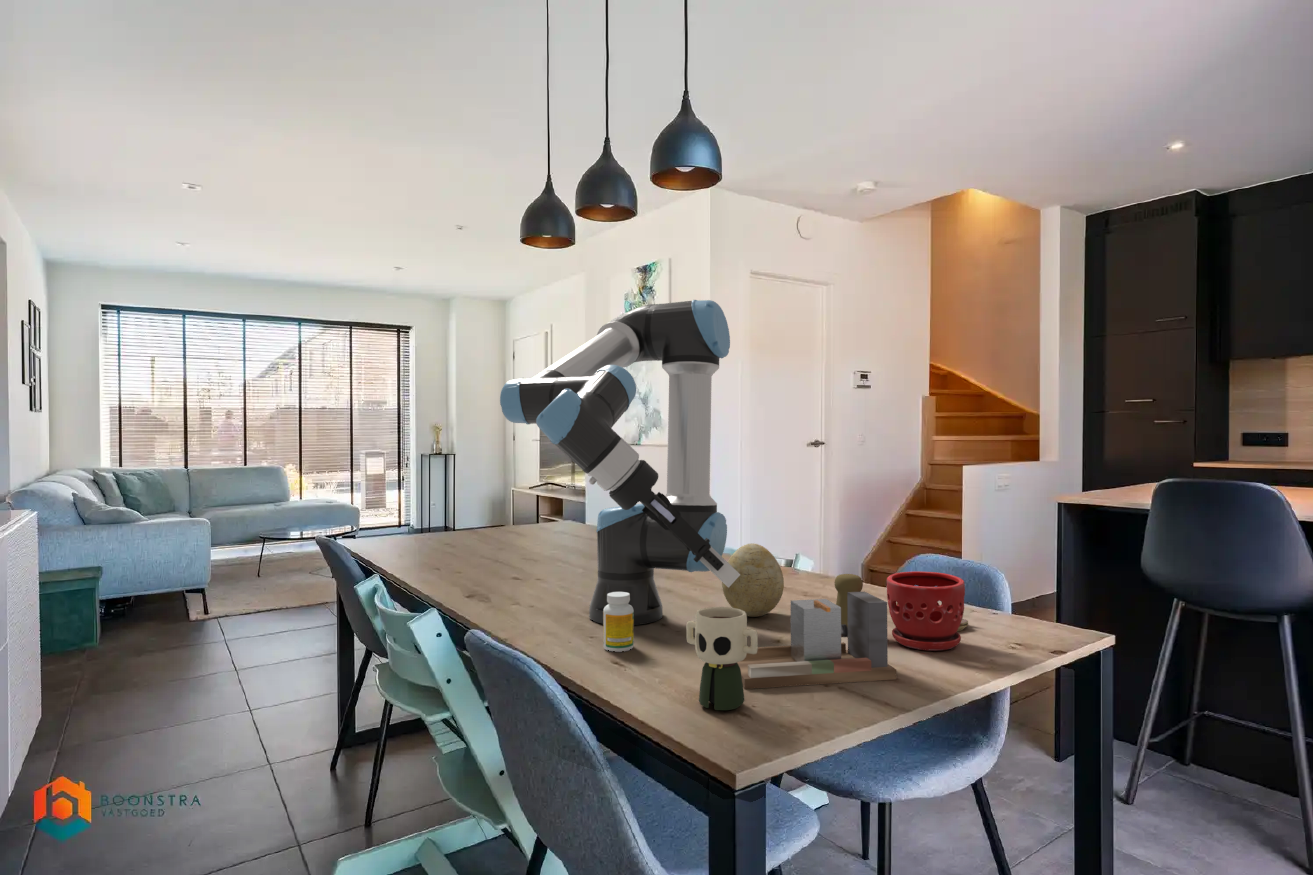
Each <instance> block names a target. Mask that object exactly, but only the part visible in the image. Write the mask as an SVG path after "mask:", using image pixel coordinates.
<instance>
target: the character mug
mask: <svg viewBox="0 0 1313 875" xmlns="http://www.w3.org/2000/svg"><path fill="white" fill-rule="evenodd" d="M747 622H748V616H747V615H746V612H745V611H743V610H740V609H736V608H732V607H724V606H712V607H706V608H700V609H698V610H697V611H695V621H694V620H689V621H687V622H686V627H685V628H686V642H687V643H688V644H690V645H694V648H695V649H694V650H695V653H696V656H697V658H698V659H699V660H700V661H702V662H703V663H704V664H703V666H702V671H701V676H700V685H699V695H698V696H699V697H698V701H699V702H698V703H699V704H700V705H701V706H702V707H704V708H705V709H709V706H710V705H709V704H711V705H713V706H714V708H713V709H714V710H716V711H730V710H736V709H738V708H739V707H740V706H742V705H743V704H744V702H745V701H746V700H745V692H744V690H745V689H744V688H743V683H742V676H741V669H740V667H739V665H738V663H737V662H739V661H742V660H743V659H745V658H746V655H747V653H749V654H757V650H758V647H759V646H758V645H759V644H758V633H757V630H755V629H752V628H750V629H749V628H748V623H747ZM694 636H695V637H694ZM748 637H750V646H748Z"/></svg>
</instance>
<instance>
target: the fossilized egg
mask: <svg viewBox="0 0 1313 875" xmlns="http://www.w3.org/2000/svg"><path fill="white" fill-rule="evenodd" d="M727 562H728V563H729V564H730V565H731V566H732V567H733V568H734V569H735V570H736V571H737V572H738V573H739V574H740V576H739V577H738V578H737V579H736V580H735V581H734V582H733V584H732V585H731V586H730V587H729V588H728V587H727V586H726V585H725V584H724V583H723V582H722V581H721V588H722V592H723V595H724V597H725V599H726V602H727V603H728V604H729V606H730V608H736V609H740V610H743V611H745V612H746V615H747V617H751V618H757V617H762V616H765V615H767V614H769V613H770V612H771V611H772V610H774V609H775V608H777V607H776V606H778V604H779V603H780V601H781V599H782V596H783V593H784V587H785V582H784V574H783V570H782V568H781V566H780V564H779V562H778V560H777V559H776V558H775V556H774V555H773V554H772V552H770V550H769V549H767V548H766V547H764V546H763V545H761V544H759V543H755V542H754V543H747V544H743V545H741V547H739V548H738V549H736V550H735V551H734V553H732V554H731V556H730V557H729V558H728V560H727Z"/></svg>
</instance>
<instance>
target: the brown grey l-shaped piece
mask: <svg viewBox="0 0 1313 875" xmlns="http://www.w3.org/2000/svg"><path fill="white" fill-rule="evenodd" d="M847 602H848V637H847V643H845V642H844V641H843V642H842V641H841V659H836V660H819V661H802V662H797V661H796V660H795V659H794V658H792V657H791V644H789V645H787V644H786V645H771V646H758V650H757V654H749V653H747V655H746V658H745V659H743V660H742V661H739V662H737V663H738V665H739V667H740V669H741V676H742V683H743V690H750V689H751V690H753V689H754V690H755V689H767V688H779V687H780V688H782V687H799V686H815V685H828V684H829V685H830V684H845V683H846V684H847V683H858V682H861V683H862V682H874V681H875V682H877V681H892V680H897V669H896V668H895V667H893V666H892V665H891V664H889V663H888V660H889V656H888V649H889V648H888V601H886V600H883V599H881V598H879V597H877V596H875V595H873V594H872V593H869V592H867V591H861V592H847ZM846 644H847V645H846ZM846 648H847V649H846Z"/></svg>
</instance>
